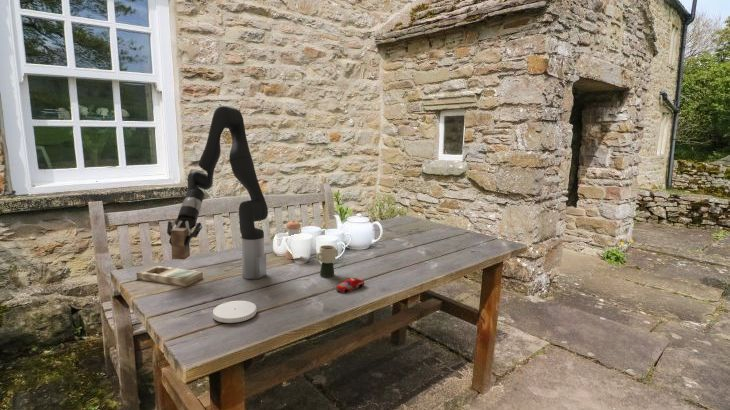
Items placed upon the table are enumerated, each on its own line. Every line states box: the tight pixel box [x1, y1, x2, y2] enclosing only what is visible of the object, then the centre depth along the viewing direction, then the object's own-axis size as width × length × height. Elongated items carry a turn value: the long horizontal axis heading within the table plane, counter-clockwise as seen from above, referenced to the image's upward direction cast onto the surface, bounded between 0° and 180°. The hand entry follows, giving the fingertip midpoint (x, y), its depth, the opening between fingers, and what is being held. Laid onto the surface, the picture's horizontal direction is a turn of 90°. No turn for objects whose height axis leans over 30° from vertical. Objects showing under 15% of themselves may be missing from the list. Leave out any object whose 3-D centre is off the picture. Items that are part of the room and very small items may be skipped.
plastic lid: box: [212, 300, 257, 324], centre depth 133 cm, size 14×14×2 cm
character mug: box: [316, 244, 339, 277], centre depth 173 cm, size 11×7×13 cm, turn 131°
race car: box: [335, 277, 365, 294], centre depth 160 cm, size 13×5×4 cm, turn 132°
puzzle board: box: [135, 265, 204, 287], centre depth 164 cm, size 24×10×3 cm, turn 75°
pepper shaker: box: [285, 219, 301, 260], centre depth 197 cm, size 7×7×19 cm
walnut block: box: [170, 227, 191, 261], centre depth 160 cm, size 5×5×12 cm
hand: (178, 244), depth 158 cm, fingers closed on walnut block, 5 cm apart
